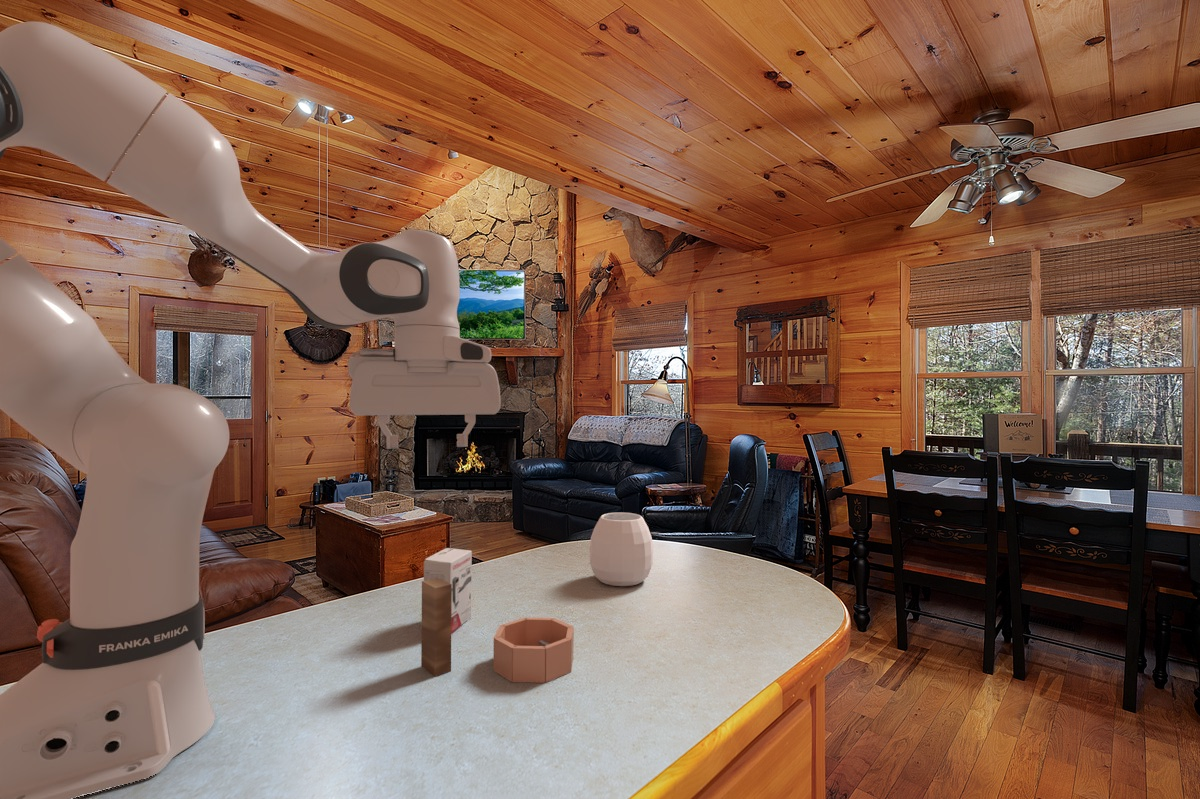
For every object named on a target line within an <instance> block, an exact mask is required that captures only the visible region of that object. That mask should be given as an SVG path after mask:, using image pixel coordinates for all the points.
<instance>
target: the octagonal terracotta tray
mask: <svg viewBox="0 0 1200 799" xmlns="http://www.w3.org/2000/svg"><path fill="white" fill-rule="evenodd" d="M574 629H575V628H574V626H573V625H570V624H569V623H567V622H565V621H562V620H559V619H557V618H555V617H522V618H519V619H516V620H513V621H509V622H506V623H504V624H500V625H499V627H498V629H497V631H496V632H495V635H494V636H493V672H495V673H497V674H498V675H501V676H502V677H503V678H505V679H506V680H508V681H510V682H512V683H541V684H543V683H544V684H545V683H547V682H550V681H553V680H555V679H557V678H560V677H562V676H564V675H567V674H569V673H571V672H572V670H573V662H574V641H575V640H574V639H575V638H574V632H575V630H574Z"/></svg>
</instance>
